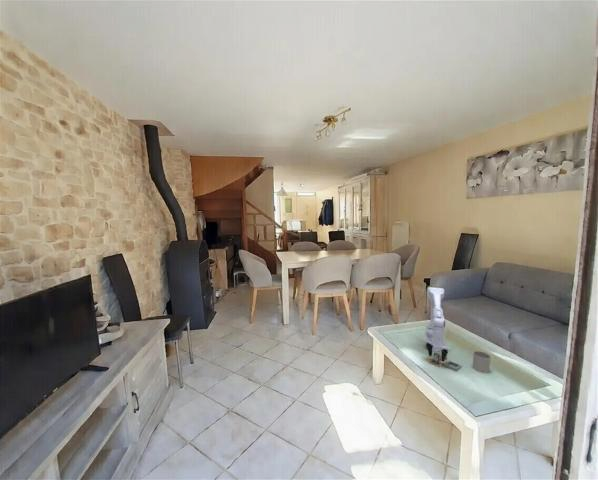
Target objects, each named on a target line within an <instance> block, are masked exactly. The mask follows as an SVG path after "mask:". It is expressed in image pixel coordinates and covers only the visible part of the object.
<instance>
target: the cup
mask: <svg viewBox="0 0 598 480" xmlns="http://www.w3.org/2000/svg"><path fill="white" fill-rule="evenodd" d="M472 354H473V355H472V369H474V370H475V371H476V372H479V373H482V374H488V373H490V368H491V367H490V366H491V355H489V354H488V353H486V352H484V351H479V350H476V351H473V353H472Z"/></svg>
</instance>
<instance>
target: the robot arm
mask: <svg viewBox="0 0 598 480" xmlns="http://www.w3.org/2000/svg"><path fill="white" fill-rule="evenodd" d="M444 297H445V289H444V288H442V287H441V288H440V287H432V286H428V287H427V299H429V300H430V323H428V324H426V326H425V332H424V333H425V337H426V338H427V339H425V340H424V343H425V348H426V350H427V352H428V356H429V357H431V356H433V353H438V352H439V351H441V349H443V350H442V351H441V352H442V358H441V359H442V361H441V362H442V363H443V361H444V360H445V357H446V355H447V356H448V353H450V352H451V347H449V346H447V345H445V344H443V343H444V331H445V330H444V329H445V328H446V319H445V316H444V310H443V308H442V307H441V305H442V304H441V303H442V302H441V301H442V300H443V299H444ZM441 352H440V353H441ZM445 361H446V360H445Z"/></svg>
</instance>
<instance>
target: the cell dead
mask: <svg viewBox="0 0 598 480" xmlns="http://www.w3.org/2000/svg"><path fill="white" fill-rule="evenodd" d="M442 350H443V349H440V351H442ZM440 359H442V352H440ZM447 360H448V354H447V355H446V357H445V361H447Z"/></svg>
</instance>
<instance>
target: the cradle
mask: <svg viewBox="0 0 598 480" xmlns="http://www.w3.org/2000/svg"><path fill="white" fill-rule="evenodd" d="M443 367H444V368H446V369H449V370H451V371H454V372H458V371H459V370H460V369H462V368H463V367H464V366H463V365H461V364H459V363H457V362H454V361H452V360H448V361H447V362H446V363H445V364H444V365H443Z"/></svg>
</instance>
